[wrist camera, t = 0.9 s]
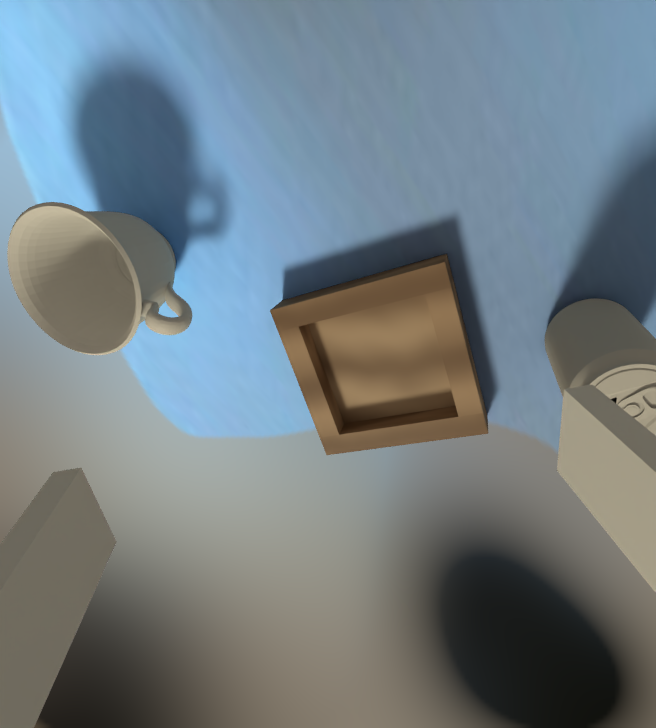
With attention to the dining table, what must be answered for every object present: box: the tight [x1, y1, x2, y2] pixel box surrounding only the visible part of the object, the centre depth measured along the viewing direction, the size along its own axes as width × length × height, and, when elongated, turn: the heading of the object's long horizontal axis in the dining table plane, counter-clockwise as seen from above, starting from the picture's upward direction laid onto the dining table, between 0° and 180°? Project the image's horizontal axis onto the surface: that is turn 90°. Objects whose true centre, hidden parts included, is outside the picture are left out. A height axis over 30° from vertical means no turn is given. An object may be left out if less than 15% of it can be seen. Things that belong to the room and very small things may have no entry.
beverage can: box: [545, 299, 656, 436], centre depth 31 cm, size 6×6×12 cm
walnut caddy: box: [270, 254, 488, 455], centre depth 41 cm, size 15×15×3 cm
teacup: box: [7, 202, 192, 355], centre depth 40 cm, size 12×15×10 cm
